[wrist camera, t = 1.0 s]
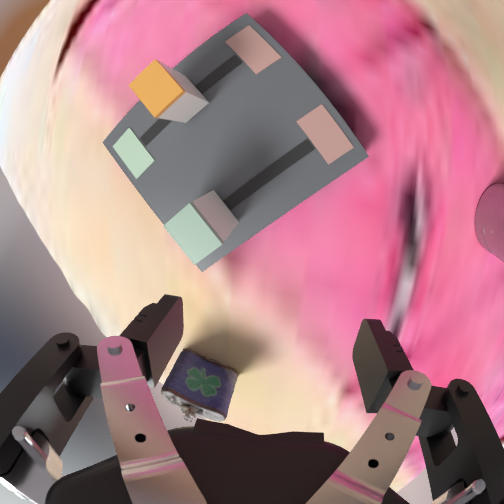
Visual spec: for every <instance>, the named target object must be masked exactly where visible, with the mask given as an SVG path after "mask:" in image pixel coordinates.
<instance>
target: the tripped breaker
mask: <svg viewBox="0 0 504 504" xmlns="http://www.w3.org/2000/svg"><path fill="white" fill-rule="evenodd" d="M129 86H130V88H131V89H132V90H133V91H134V93H135V94H136V95H137V96H138V98H139V99H140V100H141V101H142V103H143V104H144V105H145V106H146V108H147V109H148V110H149V111H150V113H151V114H152V115H153V116H154V118H160V119H166V120H172V121H178V122H183V123H186V122H188V121H189V120H190V119H191V118H192V117H193V116H194V115H196V114H197V113H198V112H199V111H200V110H201V109H203V108H204V107H205V106H206V105H207V104H209V102H208V101H207V100H206V99H205V97H204V96H203V95H202V94H201V93H200V92H199V91H198V89H197V88H196V87H195V86H194V85H193V84H192V83H191V81H190V80H189V79H188V78H187V77H186V76H185V75H183V74H181V73H179V72H178V71H176V70H174V69H172V68H171V67H169V66H167V65H165V64H163V63H161V62H160V61H158V60H156V59H155V60H154V61H153V62H152V63H151V64H150V65H149V66H147V67H146V68H145V69H144V70H143V71H142V72H141V73H140V74H139V75H138V76H137V77H136V78H135V79H134V80H133V81H132V83H131V84H130V85H129Z"/></svg>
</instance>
